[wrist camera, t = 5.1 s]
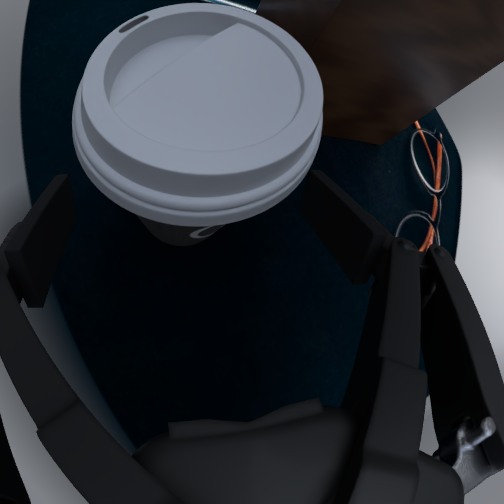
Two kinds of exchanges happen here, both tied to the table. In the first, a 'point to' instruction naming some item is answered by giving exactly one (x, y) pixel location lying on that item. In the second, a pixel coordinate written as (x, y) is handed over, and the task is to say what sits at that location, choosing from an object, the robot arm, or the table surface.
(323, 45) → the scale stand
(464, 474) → the robot arm
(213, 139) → the coffee cup
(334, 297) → the table surface
